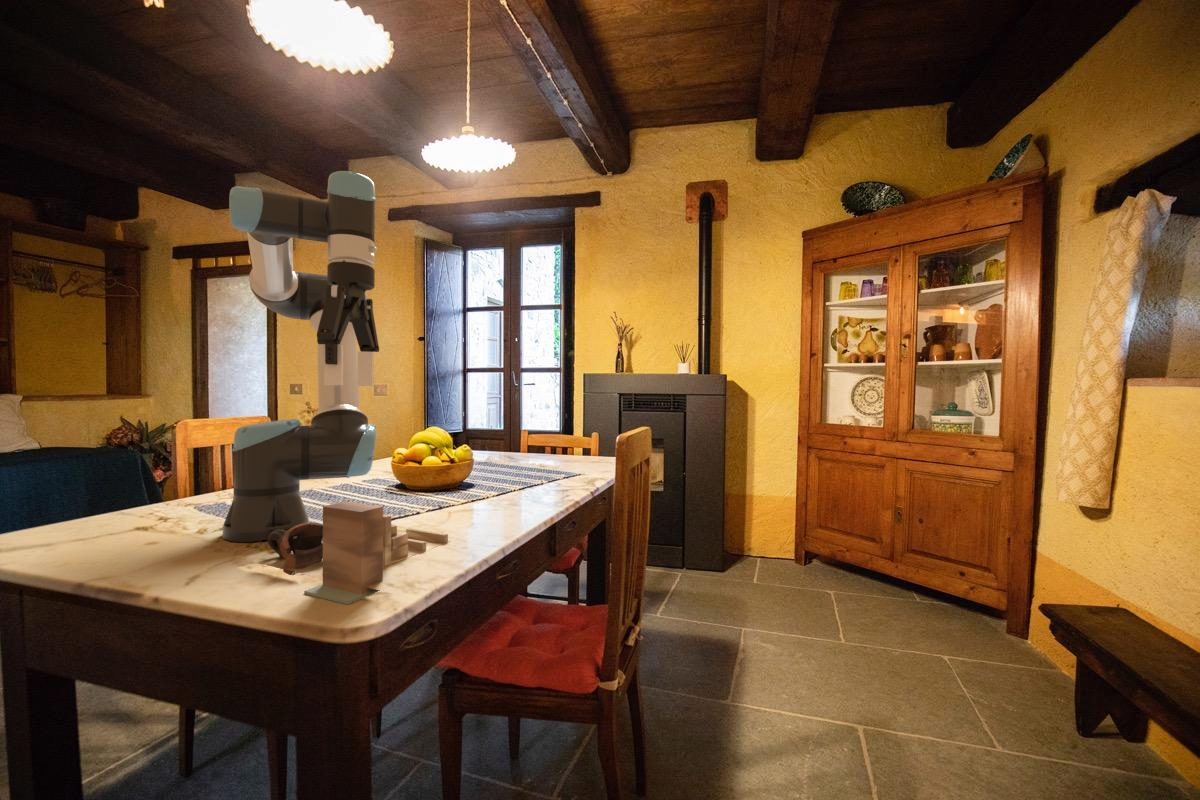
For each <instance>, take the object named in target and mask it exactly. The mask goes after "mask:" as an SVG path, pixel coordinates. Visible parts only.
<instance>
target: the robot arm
mask: <svg viewBox="0 0 1200 800" xmlns="http://www.w3.org/2000/svg"><path fill="white" fill-rule="evenodd" d="M375 187H376V186H375V183H374V182H373V180H372V179H371V178H369V177H368V176H367V175H364V174H361V173H358V172H354V171H347V170H338V171H337V170H336V171H335V172H331V173H330V174H329V176H328V180H327V189H326V192H327V200H323V199H318V198H312V197H308V196H307V197H306V196H299V195H293V194H288V193H282V192H278V191H277V192H276V191H271V190H266V189H261V188H259V187H249V186H248V187H247V186H237V185H236V186H233V187H231V189H230V191H229V197H228V198H229V201H228V202H229V204H228V205H229V206H228V207H229V220H230V225H231V227H232V228H233V229H235V230H237V231H241V232H245V233H246V235H247V241H248V248H249V255H250V260H251V266H252V269H251V270H250V272H249V276H248V282H249V287H250V290H251V292H252V294H253V295H254V297H255V298H256V299H257V300H258V301H259V302H260V303H261V304H262V305H263V306H265V307H266V308H267V309H269V310H270V311H272V312H274V313H276V314H278V315H280V316H282V317H285V318H289V319H294V320H304V321H309V325H310V327H311V328H312V329H313V330H314V331H315V332H316V338H317V339H316V343H317V344H316V345H317V346H316V348H317V390H318V392H317V393H318V394H317V395H318V396H317V397H318V398H317V399H318V412H317V413H315V414H314V415H313V416H312V418H311V419H310V424H309V425H301V423H302V422H301V421H300V419H298V418H294V419H293V418H291V419H289V418H288V419H281V420H279V419H278V420H272V421H271V420H270V421H266V422H264V421H263V422H257V423H252V424H247V425H241V426H240V427H238V428H237V429H236V430H235V432H234V435H233V436H234V437H233V448H232V449H231V450H232V452H233V497H232V498H233V499H232V501H231V504H230V507H229V510H228V512H227V515H226V517H225V519H224V523H223V525H222V539H223V540H225V541H229V542H233V543H234V542H235V543H255V541H257V542H263V541H262V540H267V541H268V537H269V535H270V534H271V533H272V532H273V531H275V530H286V531H288V530H289V529H291V528H293V527H295V526H297V525H299V524H303V523H310V519H309V515H308V512H307V510H306V506H305V505H304V502H303V499H302V496H301V493H300V492H301V491H300V489H301V488H300V485H301V484H300V483H301V481H302V480H303V481H305V480H308V481H310V480H324V479H326V480H327V479H338V478H339V479H340V478H341V479H342V478H347V479H350V478H352V477H354V478H355V477H360V476H362V477H363V476H366V475H367V474H369V472H371V469H372V466H373V462H374V455H375V447H376V439H377V438H376V437H377V426H376V425H375V424H372V423H369V418H368V415H367V414H366V413H365V412H363V411H361V404H360V403H361V402H360V387H374V384H375V382H374V379H375V377H374V376H375V375H374V373H375V372H374V371H375V369H374V367H375V353H379V352H380V347H379V346H380V345H379V341H378V334H377V329H376V322H375V316H374V307H373V306H374V305H373V304H374V302H373V299H372V298H367V293H366V291H372V290H374V288H375V285H376V284H375V281H376V280H375V279H376V278H375V277H376V276H375V273H376V270H375V269H374V267H373V266H374V265H375V253H376V252H378V247H376V246H375V240H376V239H375V228H376V227H375V223H376V219H375V217H376V202H377V198H376V189H375ZM294 239H300V240H306V241H312V242H313V241H314V242H321V243H327V245H326V246H327V247H326V250H327V251H326V256H327V257H326V259H327V261H328V262H329V263H328V264H327V266H326V267H327V274H317V273H310V272H303V271H294ZM357 344H358V347H359V351H357V350H358V349H357Z"/></svg>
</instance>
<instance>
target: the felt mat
mask: <svg viewBox="0 0 1200 800" xmlns="http://www.w3.org/2000/svg"><path fill="white" fill-rule="evenodd" d="M372 589H373V590H370V591H368V592H366V593H363V594H361V595H360V594H356V593H352V592H348V591H344V590H339V589H335V588H331V587H327V586H323V583H322V584H318V585H317V586H314V587H312V588H308V589H305V590H304V595H309V596H313V597H317V598H321V599H325V600H327V601H328V600H329V601H332V602H337V603H341V604H344V605H351V604H353V603H355V602H358V601H359V600H362V599H365V598H367V597H369V596H371V595H374V594H376V593H379V592H381V589H380V590H379V589H376V588H372ZM378 591H379V592H378ZM366 596H367V597H366ZM364 597H365V598H364ZM357 600H358V601H357ZM352 602H353V603H352ZM350 603H351V604H350Z"/></svg>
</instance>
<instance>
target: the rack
mask: <svg viewBox="0 0 1200 800" xmlns="http://www.w3.org/2000/svg"><path fill="white" fill-rule="evenodd" d="M451 542H452V541H451V540H449V534H448V533H444V532H437V531H432V530H424V529H418V528H411V527H409V528H406V529H405V532H398V526H397V525H395V524H392V515H388V514H383V567H387V566H390V565H393V564H395V563H398V562H400V561H403V560H406V559H407V558H411V557H413V556H416V555H419V554H421V553H424V552H427V551H429V550H432V549H435V548H437V547H439V546H442V545H445V544H447V543H451Z"/></svg>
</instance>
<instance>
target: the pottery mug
mask: <svg viewBox="0 0 1200 800" xmlns="http://www.w3.org/2000/svg"><path fill="white" fill-rule="evenodd" d="M294 536H297V537H294ZM267 542H268V544H269V546H270V548H271V550H273V551H274V552H275V553H276V554H278V555H279V560H284V563H283V567H282V570H283V573H284V574H286V575H288V576H292V575H293V574H294V573H295V570H298V569H305V568H308V567H310V566H313V565H317V564H320V563H321V562H323V523H322V524H321V523H318V522H309V523H303V524H299V525H297V526H295V527H293V528H291V529H289V530H288V531H286V530H275V531H273V532H272V533H271V534H270V535H269V537H268V540H267ZM294 569H295V570H294Z"/></svg>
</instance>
